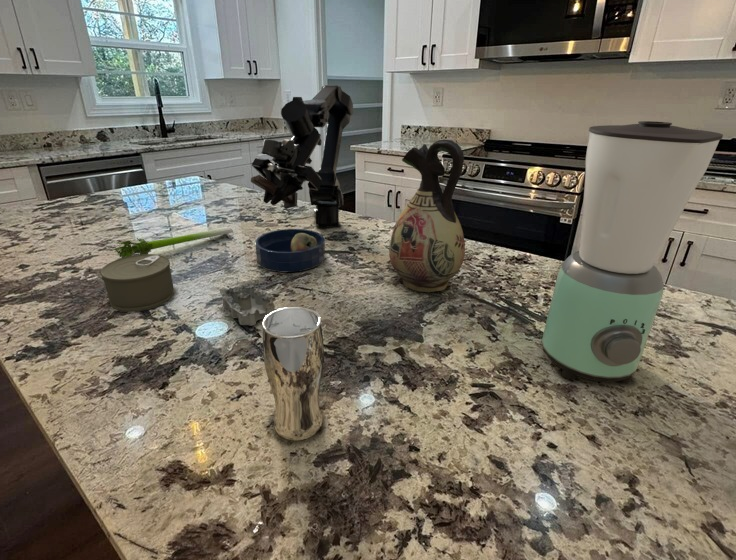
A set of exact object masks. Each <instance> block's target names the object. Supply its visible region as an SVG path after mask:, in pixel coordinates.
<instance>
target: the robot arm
mask: <svg viewBox="0 0 736 560" xmlns="http://www.w3.org/2000/svg"><path fill="white" fill-rule="evenodd" d="M353 113H354V103H353V100H352V98H351V96H350V95H349V94H348V93H346V92H345V91H343V90H342V87H341V86H340V85H337V84H325V85H322V86H321V88H320V90H319V91H318V92H317V94H316V95H314V97H313V98H311V99H307V100H303V97H302V96H293V97H292V100H290V101H288V102H287V103H285V104H284V105H283V107H281V109H280V115H281V118H282V120H283V122H284V124H285V126H286V127H287V130H288V132H289V134H290V135H291V136H292V137H291V139H283V140H282V141H281V140H279V141H278V140H275V139H268V138H265V139H264V140H263V144H262V147H261V152H260V153H261V154H262V155H266V156H268V157H270V158H271V157H272V158H271V159H272V161H273V162H274V163H275V164H274V163H273V162H272V161H271V160H270V159H269V158H265V157H256V158H254V160H253V162H251V167H252V168H253V169H254V170H255V171H256V172H258V173H259V175H260V176H262V177H264V178H265V179H267V180H268V181H270V182H271V183H273V184H274V185H276V186H278V187H277V189H276V191H275V193H274V195H272V194H270V193H268V192H267V191H265V190H264V195H263V199H262V200H263V203H264V204H269V203H270V204H271V205H272V206H276V205H277V204H279V203H280V202H283V201H282V200H283V199H285V198H286V197H288V196H289V195H291V194H293V193H295V192H296V193H298V191H302V190H303V189H304V187H303V184H304V183H305V182H307V188H308V195H309V199H310V205H311V206H315V208H314V209H313V217H314V219H313V220H314V224H315V225H316V226H317V228H318V229H324V228H336V227H338V228H339V227H341V224H340V223H339V222H340V219H339V218H340V217H339V216H340V215H339V212H340V211H339V210H340V209H339V208H340V207H343V206H344V194H343V192H342V189H341V185H340V181H339V179H338V177H337V175H336V174H337V168H338V161H339V156H340V149H341V143H342V137H343V131H344V129H345V128H346V127H347V126H348V125H349V124H350V120H351V117H352V116H353ZM326 124H327V125H326ZM325 126H326V132H325V137H324V144H323V149H322V155H321V161H320V168H319V169H318V171H316V170H315V169H314V168H313V167H312V166H311V164H312V162H313V160H312V158H311V156H312V154H313V152H314V151H315V149H316V147H317V146H319V147H320V146H322V138H321V137H322V135H321V133H320V132H319V130H318V129H317V128H320V129H321V128H324V127H325ZM276 164H277V165H276ZM307 164H308V165H307Z"/></svg>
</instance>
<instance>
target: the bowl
mask: <svg viewBox="0 0 736 560" xmlns="http://www.w3.org/2000/svg"><path fill="white" fill-rule="evenodd" d="M298 233H305V234H308V235H310V236H312V237H314V238H315V239H316V241H317V246H315V247H313V248H310V249H307V250H302V251H295V252H292V250H291V241H292V239H293V237H294V236H295V235H296V234H298ZM254 240H255V241H254V247H255V255H256V256H255V257H256V263H257V264H258V265H259V266H260V267H261V268H262V269H263V268H264V269H266V270H268V271H273V272H280V273H281V272H285V273H286V272H287V273H293V272H302V271H306V270H309V269H313V268H315V267H318V266H320V265H321V264H322V263H323V262H324V261H325V258H326V238H325V237H324V235H323V234H321V233H320V232H317V231H314V230H310V229H304V228H283V229H276V230H272V231H268V232H266V233H263V234H261V235H259V236H258V237H256V239H254Z"/></svg>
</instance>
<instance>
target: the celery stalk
mask: <svg viewBox="0 0 736 560" xmlns="http://www.w3.org/2000/svg"><path fill="white" fill-rule="evenodd" d="M232 233H233V234H234V230H233V228H232V227H229V226H224V227H219V228H216V229H210V230H205V231H201V232H195V233H191V234H185V235H180V236H174V237H169V238H162V239H155V240H149V241H148V240H145V239H144V238H138V237H136V240H137V241H138V242H133V241H131V240H126V241H118V242H117V241H112V243H115V244H119V245H123V246H118V248H117V247H115V249H114V253H116V254H117V256H119V258H125V257H129V256H134V254H139V255H142V254H150V253H152V250H155V249H160V248H165V247H169V246H173V245H178V244H183V243H188V242H194V241H198V240H203V239H207V238H213V237H218V236H222V235H228V234H232Z"/></svg>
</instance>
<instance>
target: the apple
mask: <svg viewBox="0 0 736 560" xmlns="http://www.w3.org/2000/svg"><path fill="white" fill-rule="evenodd" d="M315 246H317V241H316V239H315V238H314V237H312V236H310V235H308V234H305V233H298V234H296V235H295V236H294V237H293V239H292V241H291V250H292V252H295V251H302V250H307V249H310V248H313V247H315Z"/></svg>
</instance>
